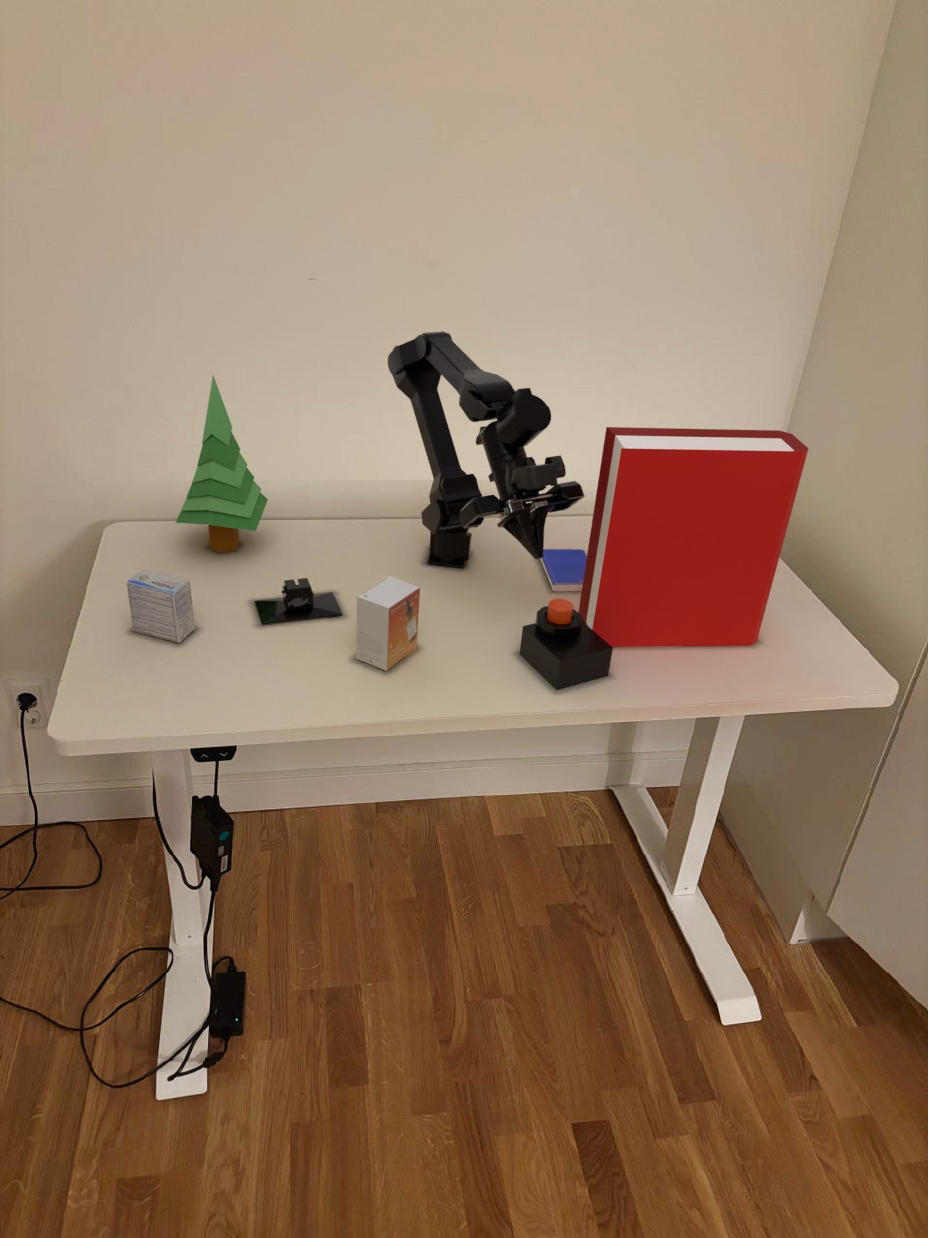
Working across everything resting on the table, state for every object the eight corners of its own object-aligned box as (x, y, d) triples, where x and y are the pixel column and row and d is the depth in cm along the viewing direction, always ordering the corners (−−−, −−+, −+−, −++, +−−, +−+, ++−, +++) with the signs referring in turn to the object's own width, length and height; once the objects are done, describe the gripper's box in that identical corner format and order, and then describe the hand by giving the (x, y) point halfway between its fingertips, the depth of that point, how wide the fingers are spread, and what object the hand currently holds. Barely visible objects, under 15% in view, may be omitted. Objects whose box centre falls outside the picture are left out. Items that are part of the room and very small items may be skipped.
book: (589, 647, 146) (621, 448, 130) (577, 620, 153) (606, 427, 136) (759, 645, 150) (812, 451, 133) (740, 618, 157) (788, 430, 140)
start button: (542, 615, 140) (543, 601, 139) (562, 610, 142) (564, 596, 141) (555, 627, 138) (557, 613, 137) (576, 622, 139) (578, 608, 138)
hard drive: (601, 583, 161) (584, 548, 171) (553, 583, 159) (539, 548, 170) (600, 591, 161) (583, 556, 172) (552, 591, 160) (538, 556, 171)
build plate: (332, 594, 155) (332, 568, 152) (342, 617, 149) (343, 591, 147) (254, 602, 151) (253, 576, 148) (261, 626, 145) (261, 599, 143)
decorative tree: (223, 520, 175) (211, 355, 159) (285, 547, 167) (280, 377, 152) (162, 545, 165) (144, 372, 149) (226, 575, 158) (214, 396, 142)
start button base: (516, 652, 144) (521, 611, 140) (566, 639, 148) (572, 599, 144) (556, 690, 136) (562, 649, 132) (608, 676, 140) (615, 635, 136)
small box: (386, 672, 137) (388, 609, 131) (354, 659, 139) (355, 596, 134) (418, 648, 143) (421, 586, 137) (387, 635, 145) (389, 574, 140)
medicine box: (196, 630, 143) (191, 578, 139) (179, 644, 139) (173, 592, 135) (150, 618, 145) (144, 567, 140) (132, 632, 141) (125, 580, 137)
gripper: (475, 445, 132) (509, 552, 130) (586, 429, 141) (619, 529, 138) (444, 476, 142) (475, 576, 140) (550, 460, 150) (581, 554, 148)
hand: (539, 558), depth 141 cm, fingers closed
